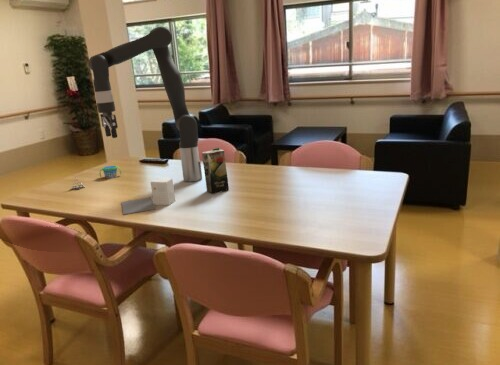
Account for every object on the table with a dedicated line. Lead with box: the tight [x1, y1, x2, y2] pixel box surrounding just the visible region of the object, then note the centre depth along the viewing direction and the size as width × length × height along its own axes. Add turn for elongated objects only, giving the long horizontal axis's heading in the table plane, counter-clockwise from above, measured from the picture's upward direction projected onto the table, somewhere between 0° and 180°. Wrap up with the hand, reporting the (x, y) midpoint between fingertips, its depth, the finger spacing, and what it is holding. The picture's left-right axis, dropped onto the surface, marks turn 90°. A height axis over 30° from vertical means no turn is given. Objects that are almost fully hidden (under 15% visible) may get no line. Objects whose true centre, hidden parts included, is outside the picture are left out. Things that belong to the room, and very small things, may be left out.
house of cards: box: [70, 176, 86, 191], centre depth 207 cm, size 9×9×8 cm
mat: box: [121, 196, 156, 216], centre depth 178 cm, size 13×18×1 cm
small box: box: [150, 178, 176, 206], centre depth 178 cm, size 8×6×10 cm
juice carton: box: [201, 147, 230, 195], centre depth 189 cm, size 20×10×6 cm
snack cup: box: [99, 165, 122, 179], centre depth 226 cm, size 11×8×7 cm
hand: (111, 137), depth 187 cm, fingers open, 8 cm apart
